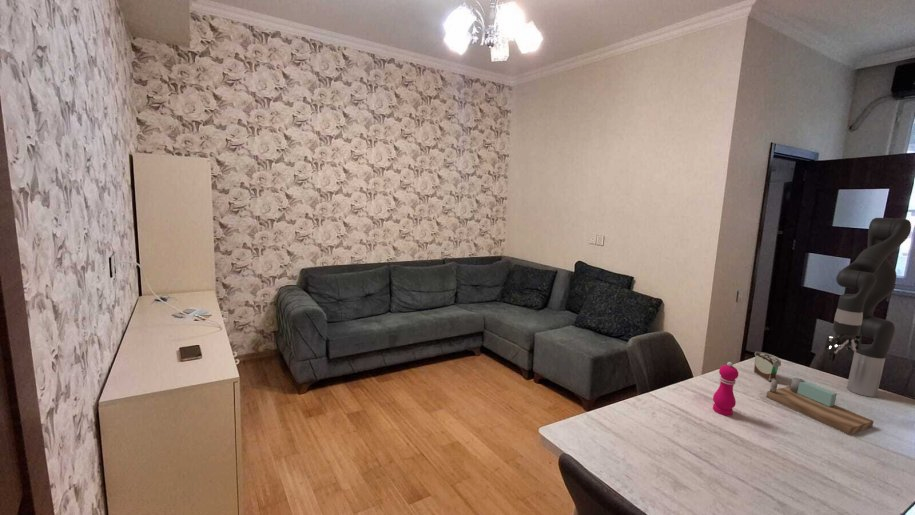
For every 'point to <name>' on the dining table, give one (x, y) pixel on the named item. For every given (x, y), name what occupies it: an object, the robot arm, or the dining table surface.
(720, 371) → the pepper mill
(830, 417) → the board
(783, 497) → the dining table surface
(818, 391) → the hinged leg
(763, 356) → the food container
